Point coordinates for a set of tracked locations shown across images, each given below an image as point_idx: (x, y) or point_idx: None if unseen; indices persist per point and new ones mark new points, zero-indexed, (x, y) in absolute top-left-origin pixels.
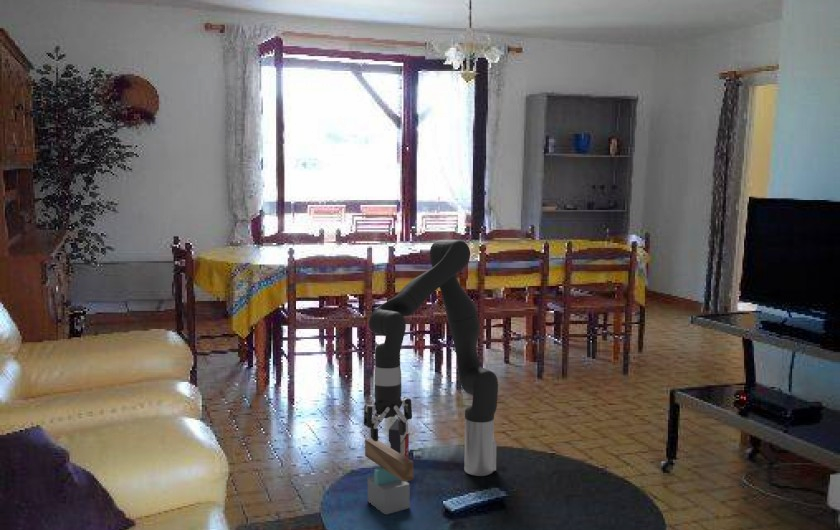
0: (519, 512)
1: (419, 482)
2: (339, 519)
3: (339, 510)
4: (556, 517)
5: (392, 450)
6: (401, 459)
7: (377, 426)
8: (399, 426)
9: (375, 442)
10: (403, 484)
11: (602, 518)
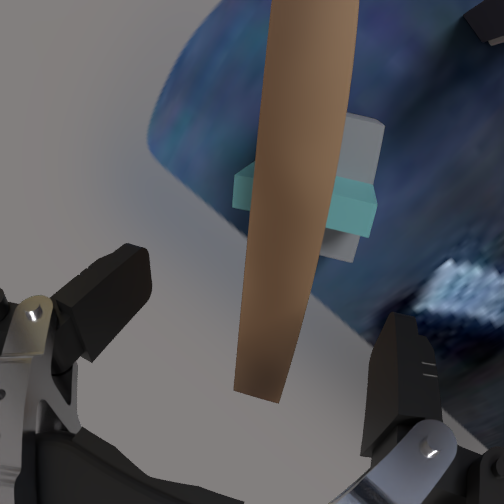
0: (471, 386)
1: (500, 122)
2: (163, 148)
3: (186, 102)
4: (475, 417)
5: (300, 268)
6: (254, 366)
7: (75, 376)
8: (386, 381)
9: (306, 59)
10: (332, 250)
11: (491, 438)
